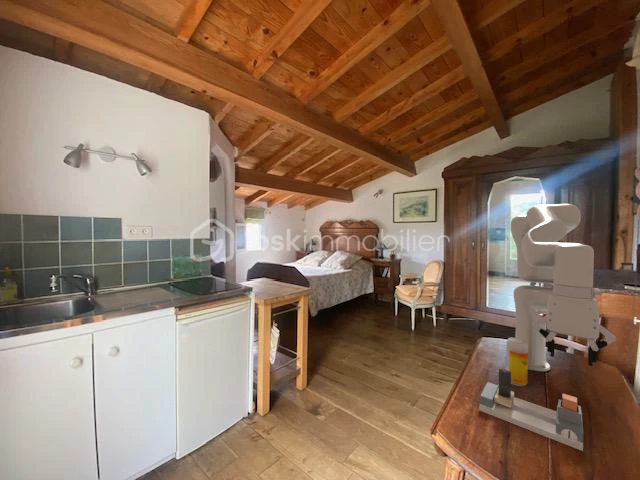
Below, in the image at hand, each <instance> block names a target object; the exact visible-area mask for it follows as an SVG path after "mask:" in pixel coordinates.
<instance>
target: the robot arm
mask: <svg viewBox="0 0 640 480" xmlns="http://www.w3.org/2000/svg"><path fill="white" fill-rule="evenodd" d="M581 218H582V215H581V211H580V209H579V207H578V206H576V205H575V204H572V203H559V204H558V203H556V204H551V203H549V204H539V205H534V206H532V207H530V208H528V210H527V212H526V214H521V215H517V216H515V217H513V218H512V219H511V220H510V232H511V236H512V238H513V241H514V243H515V246H516V264H517V265H516V267H517V276H518V278H519V280H521V281H523V282H528V283H536V284H537V283H538V284H551V285H552V286H543V285H528V284H527V285H519V286H517V287H515V288H514V290H513V301H514V307H515V309H514V310H515V337H514V338H519V339H523V340H525V341H526V342H527V344H528V371H529V370H530V371H533V372H534V371H535V372H547V371H550V370H551V365H550V364H549V363H548V362H547V361H546V349H547V353H550V355H549V356H550V357H552V358H554V357H555V346H556V345H555V343H556V341H555V337H556V336H557V334H559V335H565V336H570V337H575V338H579V339H580V338H581V339H586V341H587V343H588V345H589V346H588V347H587V364H588V365H589V366H590V367H593V363H595V364H596V363H597V356H598V354H597V352H598V351H599V350H601V349H603V348H605V347H607V346H608V345H610V344H612V343H614V342H616V341H617V337H616V335H614V334H613V333H611V332H610V331H609V330H608V329H606V327H604V326H603V325H601V323H600V313H599V312H600V311H599V304H598V303H599V302H598V301H597V298H594V297H595V296H602V290H601V289H596V288H595V287H594V266H595V264H594V263H595V261H594V260H595V253H594V252H595V250H594V248H593V247H592V246H591V245H588V244H583V243H579V242H578V243H577V242H558V241H560V240H562V239H564V237H565V236H566V235H567V234H568V233H570V232H571V231H574V229H576V228H578V226H579V225H580V222H581ZM538 312H546V313H545V314H546V315H544V316H542V315H540V314H539V313H538ZM547 330H548V331H547ZM600 333H601V335H603V336H604V338H602V339H599V337H600ZM598 339H599V340H598ZM596 340H597V341H596ZM546 341H547V346H546ZM546 347H547V348H546Z"/></svg>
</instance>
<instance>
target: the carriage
mask: <svg viewBox="0 0 640 480" xmlns="http://www.w3.org/2000/svg"><path fill="white" fill-rule="evenodd" d="M498 386H499V388H498V390H497V392H496V394H495V397H494V402H496V403H499V404H501V405H504V406H507V407H510V408H512V403H513V400H514V397H515V391H512V384H511V372H510V371H508V370H506V368H499V369H498Z"/></svg>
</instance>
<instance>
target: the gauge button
mask: <svg viewBox="0 0 640 480" xmlns="http://www.w3.org/2000/svg"><path fill="white" fill-rule="evenodd" d="M561 400H562V407H563V408H566V409H569V410H572V411H575V412H577V405H578V398H577V397H576V396H572V395H570V394H566V393H562V399H561Z"/></svg>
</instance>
